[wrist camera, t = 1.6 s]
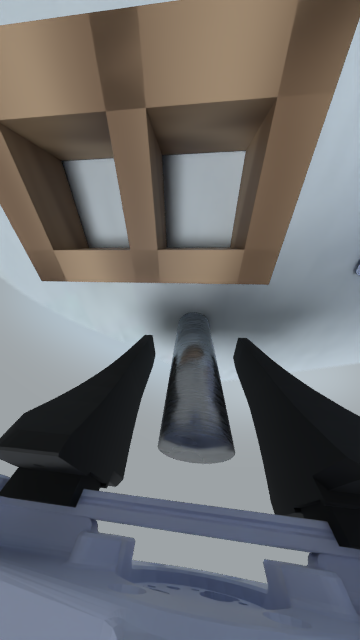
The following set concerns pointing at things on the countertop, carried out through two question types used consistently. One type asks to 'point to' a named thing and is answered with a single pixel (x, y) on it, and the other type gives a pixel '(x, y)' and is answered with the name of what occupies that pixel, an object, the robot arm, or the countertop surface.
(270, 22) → the hole block
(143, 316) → the countertop surface
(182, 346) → the peg
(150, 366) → the robot arm
